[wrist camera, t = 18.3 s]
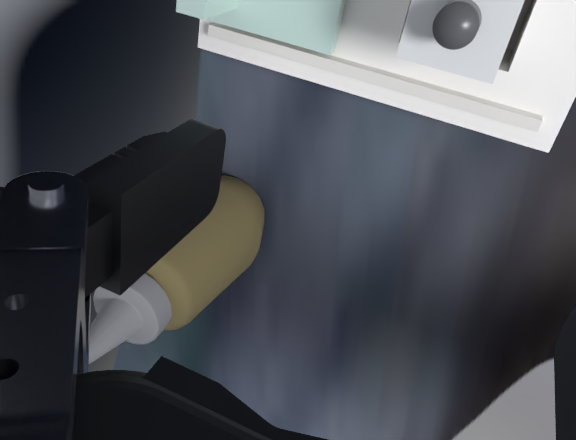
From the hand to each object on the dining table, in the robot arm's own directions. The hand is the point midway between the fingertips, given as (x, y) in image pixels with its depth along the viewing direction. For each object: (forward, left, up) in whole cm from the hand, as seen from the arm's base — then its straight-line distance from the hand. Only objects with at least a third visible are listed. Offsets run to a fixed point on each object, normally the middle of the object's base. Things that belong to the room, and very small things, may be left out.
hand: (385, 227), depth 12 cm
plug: (+1, -2, -24) cm, 24 cm away
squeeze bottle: (+14, +18, -25) cm, 34 cm away
